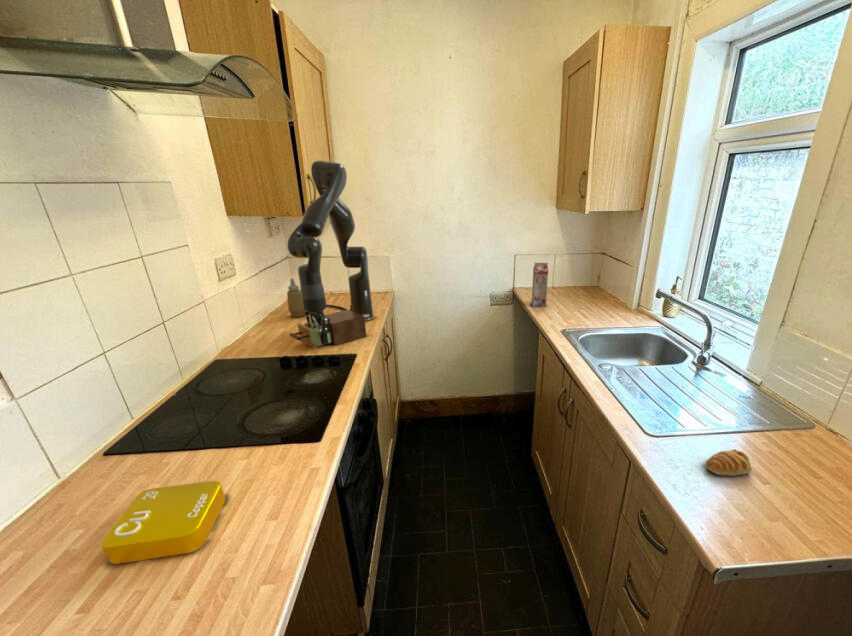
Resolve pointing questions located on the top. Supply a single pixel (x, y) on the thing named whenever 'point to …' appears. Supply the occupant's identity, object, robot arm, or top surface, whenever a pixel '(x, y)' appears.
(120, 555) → the element tile
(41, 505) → the top surface
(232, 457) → the top surface
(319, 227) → the robot arm
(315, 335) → the block
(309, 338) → the drawer
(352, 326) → the cabinet
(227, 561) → the top surface
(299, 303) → the squeeze bottle
